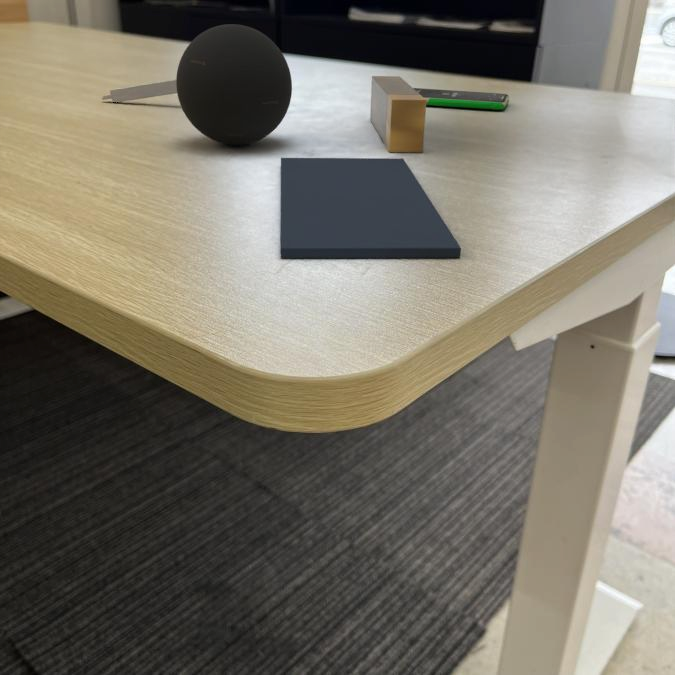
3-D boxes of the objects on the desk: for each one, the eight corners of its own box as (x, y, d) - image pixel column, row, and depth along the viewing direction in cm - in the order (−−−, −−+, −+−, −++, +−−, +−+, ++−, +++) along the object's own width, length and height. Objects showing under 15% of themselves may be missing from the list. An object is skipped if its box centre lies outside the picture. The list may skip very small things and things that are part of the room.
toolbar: (397, 120, 80) (400, 76, 78) (422, 152, 66) (426, 99, 64) (370, 119, 80) (371, 75, 78) (389, 152, 66) (391, 99, 64)
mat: (403, 165, 61) (403, 158, 61) (460, 258, 42) (461, 247, 41) (281, 165, 61) (281, 157, 60) (280, 258, 41) (280, 248, 41)
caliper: (271, 112, 83) (270, 52, 80) (267, 113, 82) (266, 53, 80) (106, 100, 88) (100, 43, 85) (101, 102, 87) (94, 44, 84)
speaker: (292, 133, 72) (292, 21, 68) (291, 157, 63) (290, 29, 59) (188, 132, 72) (181, 19, 67) (172, 155, 63) (162, 27, 58)
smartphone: (505, 102, 86) (378, 94, 90) (504, 111, 86) (378, 102, 90) (510, 93, 92) (392, 86, 96) (509, 101, 93) (391, 93, 97)
